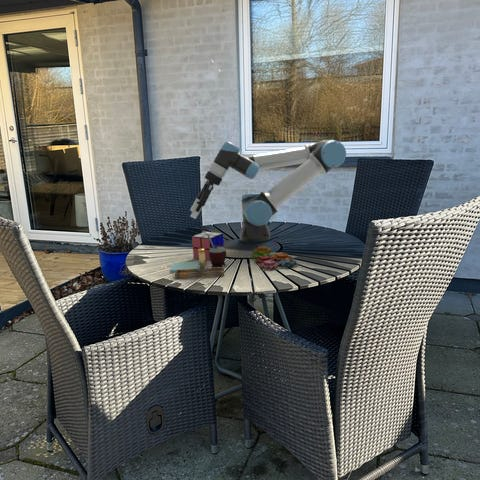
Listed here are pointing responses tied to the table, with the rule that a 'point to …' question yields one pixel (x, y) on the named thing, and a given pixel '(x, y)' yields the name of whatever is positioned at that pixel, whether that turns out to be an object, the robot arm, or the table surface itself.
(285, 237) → the table surface
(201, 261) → the small yellow bottle
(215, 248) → the mate gourd
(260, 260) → the gear puzzle
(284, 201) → the robot arm
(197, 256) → the puzzle cube
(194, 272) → the index rail
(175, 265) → the pad
